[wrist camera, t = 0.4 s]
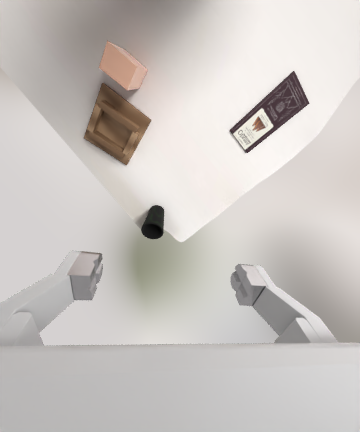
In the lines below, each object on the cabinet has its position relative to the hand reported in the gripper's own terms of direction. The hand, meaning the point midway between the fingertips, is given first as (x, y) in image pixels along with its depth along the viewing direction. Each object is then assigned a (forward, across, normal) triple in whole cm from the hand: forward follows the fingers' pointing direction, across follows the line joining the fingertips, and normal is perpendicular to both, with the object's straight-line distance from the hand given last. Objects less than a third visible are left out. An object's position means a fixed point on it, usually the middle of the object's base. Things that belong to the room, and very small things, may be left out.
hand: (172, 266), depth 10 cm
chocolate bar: (+45, -26, -13) cm, 54 cm away
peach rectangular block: (+47, +10, -16) cm, 51 cm away
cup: (+53, -1, +25) cm, 59 cm away
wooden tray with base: (+50, +14, -2) cm, 52 cm away
